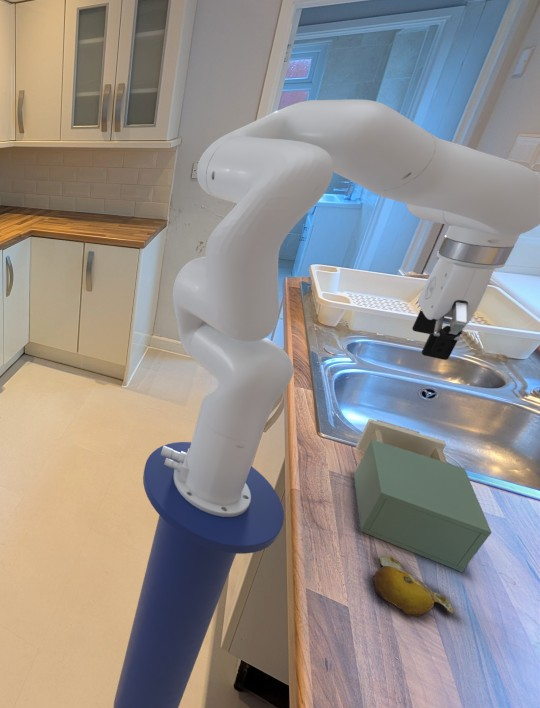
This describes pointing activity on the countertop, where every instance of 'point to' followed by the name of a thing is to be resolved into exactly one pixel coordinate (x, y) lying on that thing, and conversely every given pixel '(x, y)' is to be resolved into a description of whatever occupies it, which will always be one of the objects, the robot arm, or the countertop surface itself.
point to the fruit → (405, 589)
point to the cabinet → (419, 505)
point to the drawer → (401, 439)
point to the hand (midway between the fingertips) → (428, 344)
